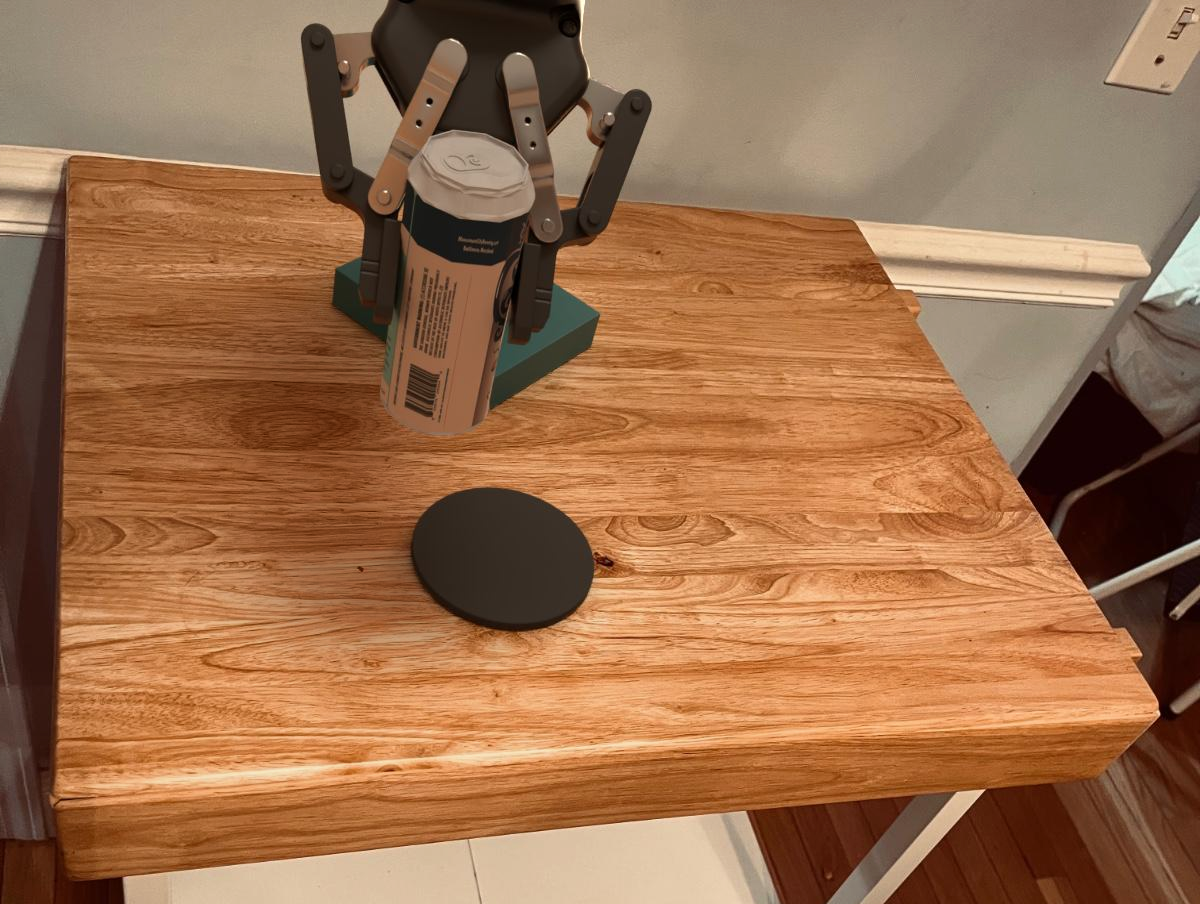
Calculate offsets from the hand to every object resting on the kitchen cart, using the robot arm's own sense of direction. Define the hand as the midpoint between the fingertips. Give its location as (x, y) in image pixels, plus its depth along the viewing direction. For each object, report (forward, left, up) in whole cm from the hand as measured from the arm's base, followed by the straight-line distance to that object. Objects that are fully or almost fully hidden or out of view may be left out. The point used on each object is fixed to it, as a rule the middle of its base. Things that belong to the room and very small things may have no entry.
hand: (452, 330), depth 47 cm
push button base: (-14, +21, -18) cm, 31 cm away
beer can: (-1, +1, -6) cm, 6 cm away
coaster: (+1, +7, -18) cm, 20 cm away
